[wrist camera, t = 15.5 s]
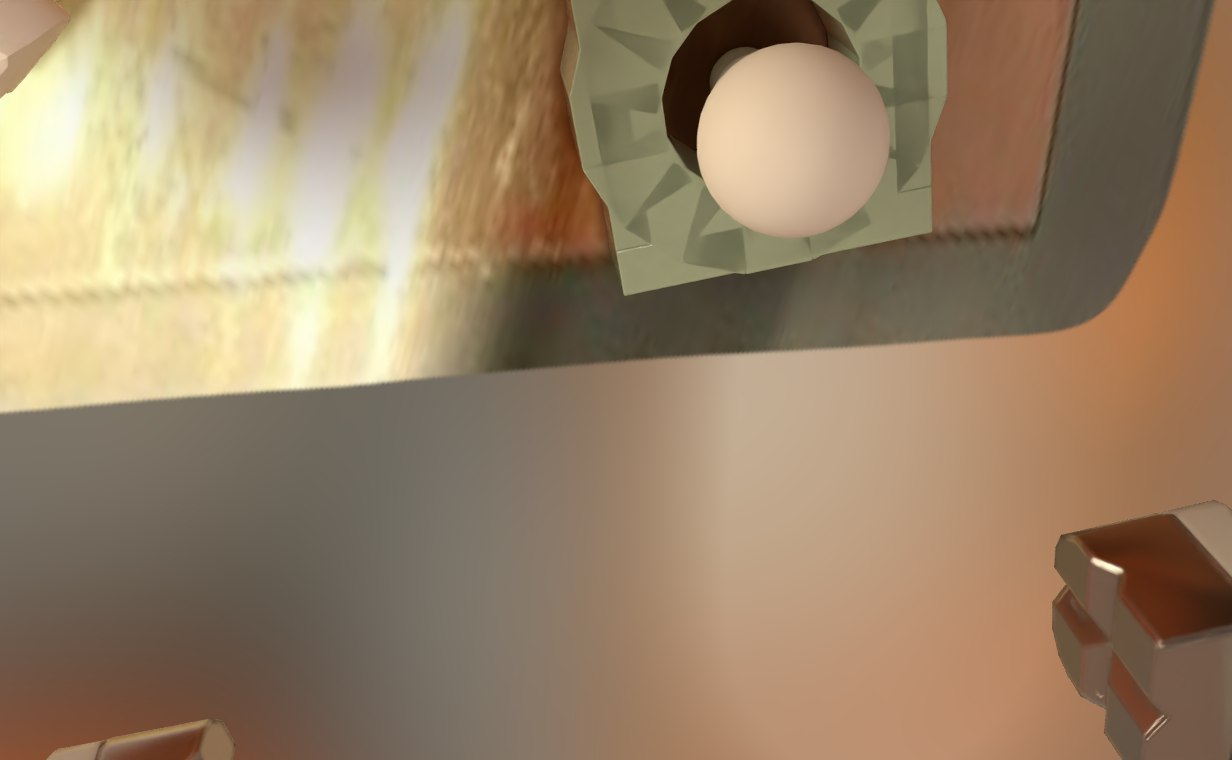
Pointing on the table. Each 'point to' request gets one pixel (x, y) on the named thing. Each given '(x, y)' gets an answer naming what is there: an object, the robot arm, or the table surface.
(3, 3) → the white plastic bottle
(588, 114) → the square stone ashtray
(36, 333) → the table surface
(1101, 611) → the robot arm
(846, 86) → the lightbulb
